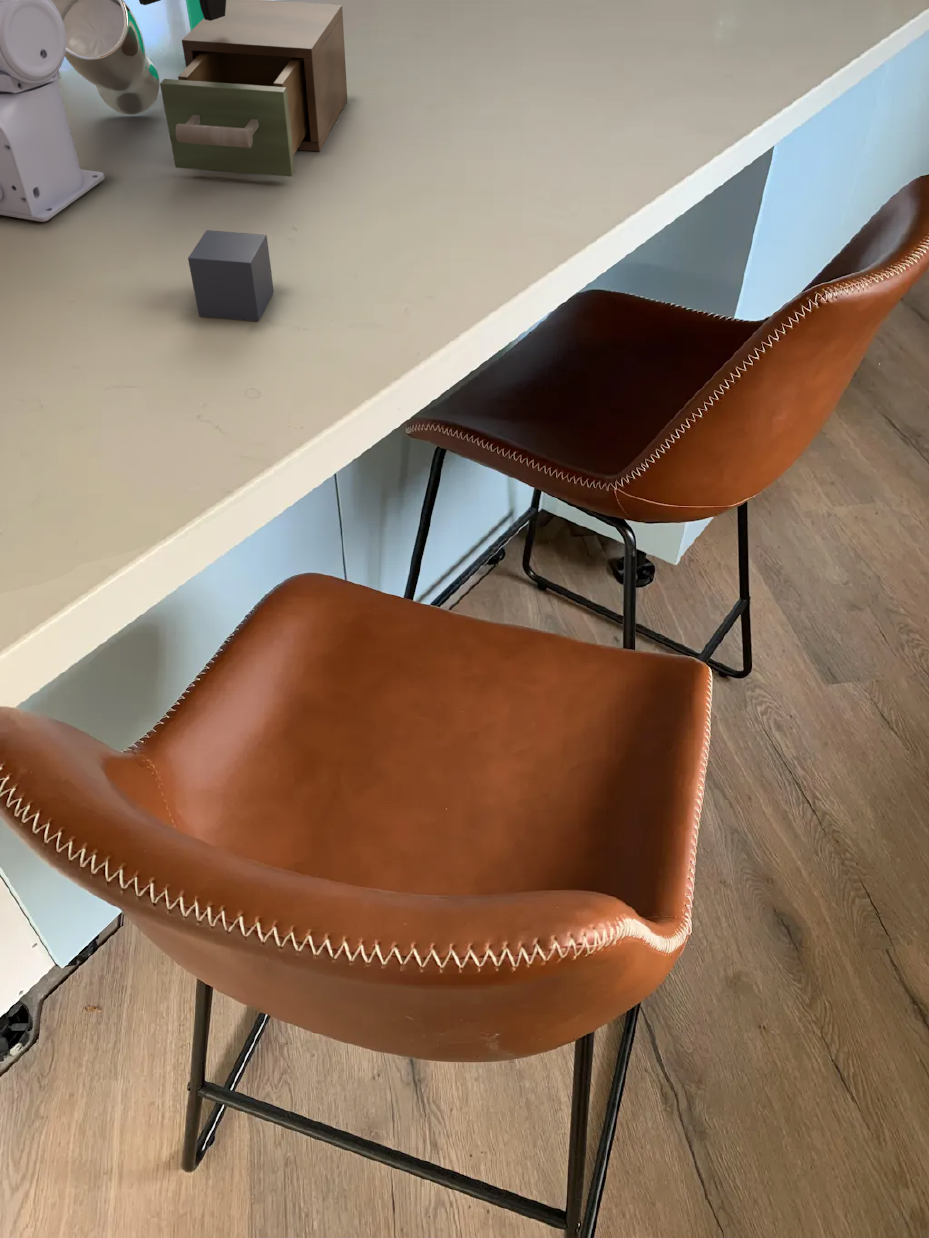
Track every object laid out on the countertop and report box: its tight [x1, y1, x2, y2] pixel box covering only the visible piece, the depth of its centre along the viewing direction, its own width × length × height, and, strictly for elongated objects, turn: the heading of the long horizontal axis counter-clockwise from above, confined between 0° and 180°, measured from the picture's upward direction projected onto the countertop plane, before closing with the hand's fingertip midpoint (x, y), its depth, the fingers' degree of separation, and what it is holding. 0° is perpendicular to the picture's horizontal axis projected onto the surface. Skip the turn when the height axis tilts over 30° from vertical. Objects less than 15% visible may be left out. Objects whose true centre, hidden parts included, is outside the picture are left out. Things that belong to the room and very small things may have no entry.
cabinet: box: [181, 0, 348, 152], centre depth 91 cm, size 14×12×9 cm
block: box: [187, 229, 275, 322], centre depth 68 cm, size 4×4×4 cm
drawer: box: [159, 51, 310, 177], centre depth 84 cm, size 17×10×7 cm, turn 174°
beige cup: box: [51, 0, 161, 116], centre depth 86 cm, size 7×7×15 cm
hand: (182, 10), depth 85 cm, fingers open, 7 cm apart
